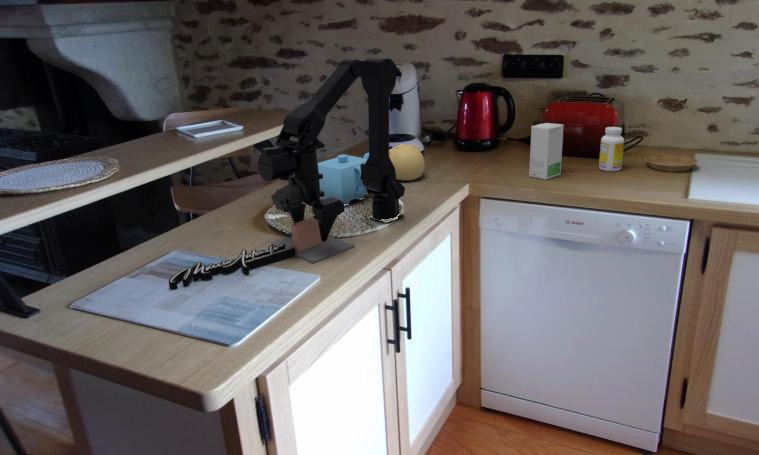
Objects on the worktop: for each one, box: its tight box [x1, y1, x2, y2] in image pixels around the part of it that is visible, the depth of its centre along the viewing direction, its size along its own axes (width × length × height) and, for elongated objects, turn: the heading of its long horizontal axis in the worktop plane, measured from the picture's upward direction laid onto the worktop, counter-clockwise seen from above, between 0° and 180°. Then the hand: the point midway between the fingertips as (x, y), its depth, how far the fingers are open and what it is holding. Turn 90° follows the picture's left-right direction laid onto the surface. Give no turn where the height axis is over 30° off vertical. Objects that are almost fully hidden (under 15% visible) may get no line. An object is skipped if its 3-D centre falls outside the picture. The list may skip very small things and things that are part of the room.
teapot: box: [318, 152, 369, 204], centre depth 165 cm, size 18×16×13 cm
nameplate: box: [168, 244, 296, 290], centre depth 124 cm, size 27×2×10 cm
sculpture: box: [389, 143, 425, 181], centre depth 181 cm, size 12×12×11 cm
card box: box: [290, 217, 330, 252], centre depth 133 cm, size 9×2×6 cm, turn 134°
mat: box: [270, 235, 356, 264], centre depth 135 cm, size 12×16×1 cm
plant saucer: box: [644, 153, 698, 173], centre depth 180 cm, size 15×15×3 cm
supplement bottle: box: [598, 126, 625, 172], centre depth 179 cm, size 7×7×13 cm
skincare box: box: [528, 122, 565, 181], centre depth 175 cm, size 8×7×16 cm
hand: (311, 236), depth 134 cm, fingers open, 9 cm apart
